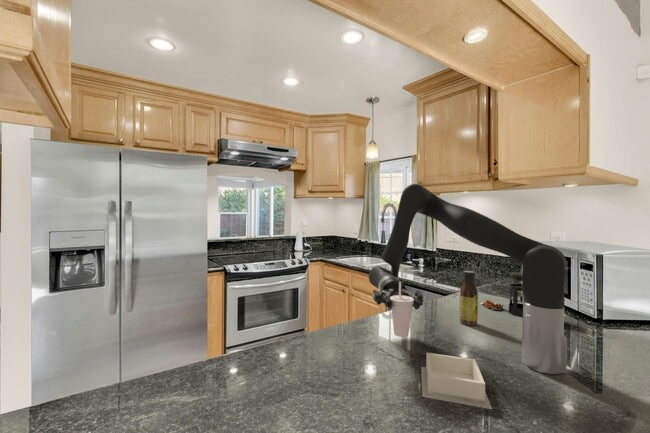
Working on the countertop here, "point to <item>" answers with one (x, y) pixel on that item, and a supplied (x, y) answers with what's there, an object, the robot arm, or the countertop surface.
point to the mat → (425, 394)
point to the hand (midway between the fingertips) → (404, 305)
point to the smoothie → (401, 313)
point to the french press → (516, 296)
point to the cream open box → (454, 378)
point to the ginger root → (492, 305)
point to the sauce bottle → (468, 300)
